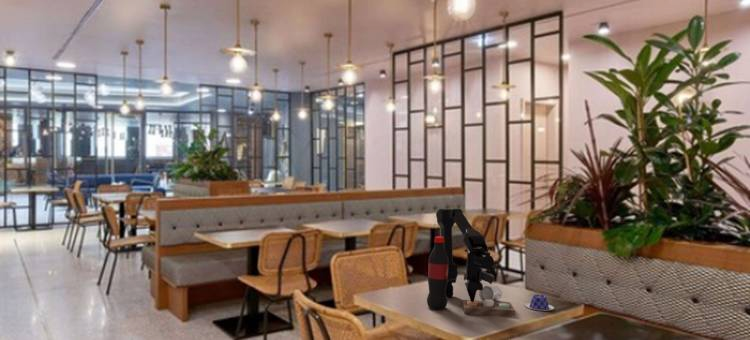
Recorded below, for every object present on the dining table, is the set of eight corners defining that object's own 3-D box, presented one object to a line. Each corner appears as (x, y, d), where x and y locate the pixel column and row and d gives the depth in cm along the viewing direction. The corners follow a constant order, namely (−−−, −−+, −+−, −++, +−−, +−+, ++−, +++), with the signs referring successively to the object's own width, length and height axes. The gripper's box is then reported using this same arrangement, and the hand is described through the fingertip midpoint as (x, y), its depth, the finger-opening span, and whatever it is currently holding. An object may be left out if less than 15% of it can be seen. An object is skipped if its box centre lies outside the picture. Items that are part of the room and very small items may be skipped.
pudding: (551, 314, 220) (552, 301, 220) (522, 309, 226) (522, 297, 226) (555, 306, 231) (556, 295, 231) (527, 302, 237) (528, 290, 236)
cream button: (483, 308, 219) (483, 302, 218) (481, 305, 223) (482, 299, 223) (494, 309, 218) (494, 302, 218) (492, 306, 222) (492, 299, 222)
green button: (499, 312, 218) (499, 305, 218) (497, 309, 222) (497, 302, 222) (510, 313, 218) (510, 306, 217) (508, 310, 222) (508, 303, 222)
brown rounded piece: (467, 309, 219) (467, 302, 219) (466, 306, 223) (466, 300, 223) (477, 310, 219) (478, 303, 219) (476, 307, 223) (477, 300, 223)
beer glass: (491, 282, 240) (482, 282, 227) (505, 289, 237) (497, 290, 224) (485, 296, 240) (475, 297, 227) (499, 303, 237) (490, 305, 224)
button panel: (464, 313, 215) (464, 307, 215) (462, 305, 227) (462, 299, 227) (514, 316, 214) (515, 310, 214) (509, 308, 226) (510, 302, 226)
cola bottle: (448, 306, 225) (451, 236, 224) (444, 312, 217) (447, 238, 216) (429, 304, 228) (431, 234, 227) (424, 309, 220) (427, 237, 219)
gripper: (496, 270, 211) (494, 309, 211) (490, 261, 229) (489, 296, 230) (468, 268, 212) (466, 307, 212) (464, 259, 230) (463, 295, 231)
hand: (472, 301), depth 221 cm, fingers closed, pressing on brown rounded piece
